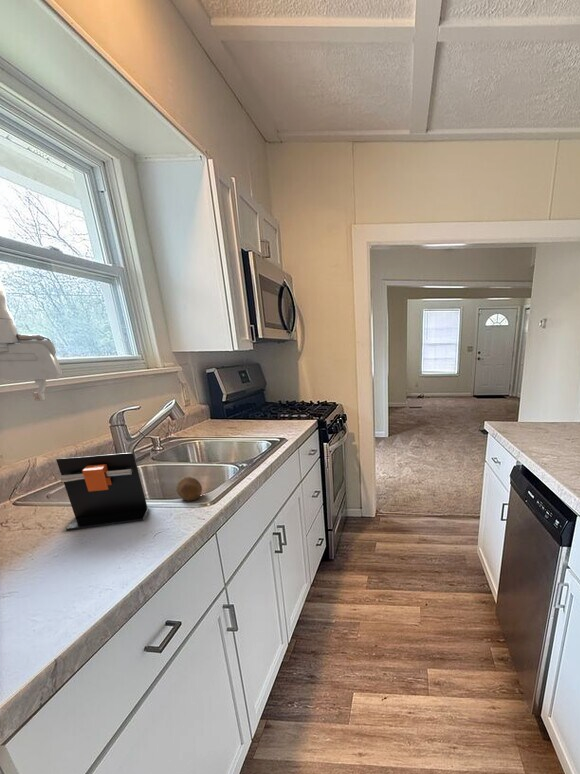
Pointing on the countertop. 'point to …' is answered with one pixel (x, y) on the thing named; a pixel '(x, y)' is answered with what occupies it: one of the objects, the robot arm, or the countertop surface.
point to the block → (96, 477)
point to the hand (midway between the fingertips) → (15, 401)
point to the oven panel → (104, 491)
